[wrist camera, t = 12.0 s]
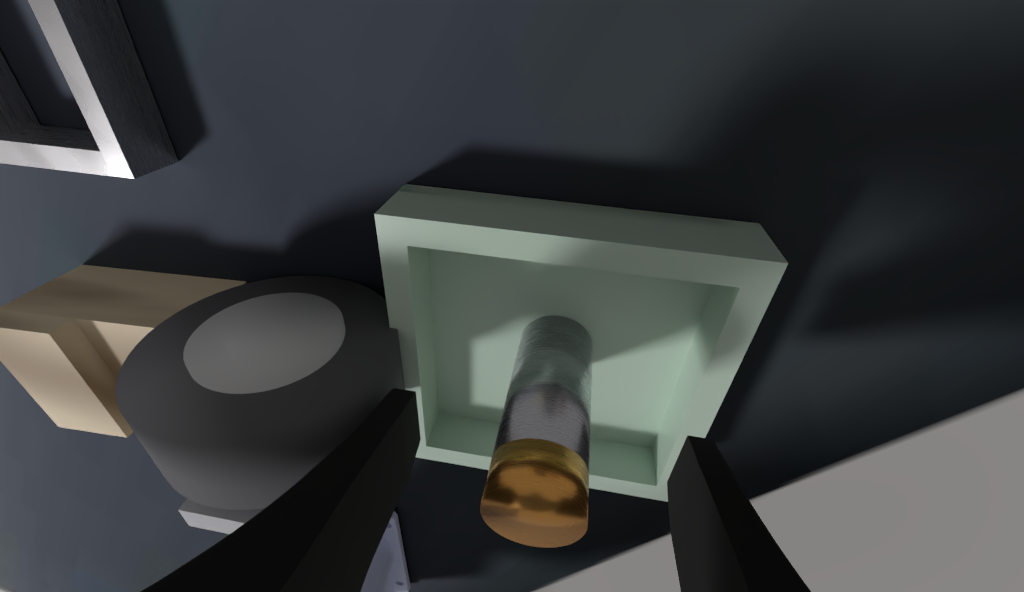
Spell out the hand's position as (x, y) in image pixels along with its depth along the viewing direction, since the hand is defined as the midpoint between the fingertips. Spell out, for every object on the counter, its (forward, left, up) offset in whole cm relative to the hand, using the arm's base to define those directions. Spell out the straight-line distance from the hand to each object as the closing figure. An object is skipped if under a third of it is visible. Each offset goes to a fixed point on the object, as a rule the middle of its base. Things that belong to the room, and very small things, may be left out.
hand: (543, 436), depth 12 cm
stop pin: (0, 0, -4) cm, 4 cm away
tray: (0, 0, -4) cm, 4 cm away
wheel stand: (0, +8, -4) cm, 9 cm away
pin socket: (+8, +15, -4) cm, 17 cm away
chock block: (-2, +15, -4) cm, 16 cm away
